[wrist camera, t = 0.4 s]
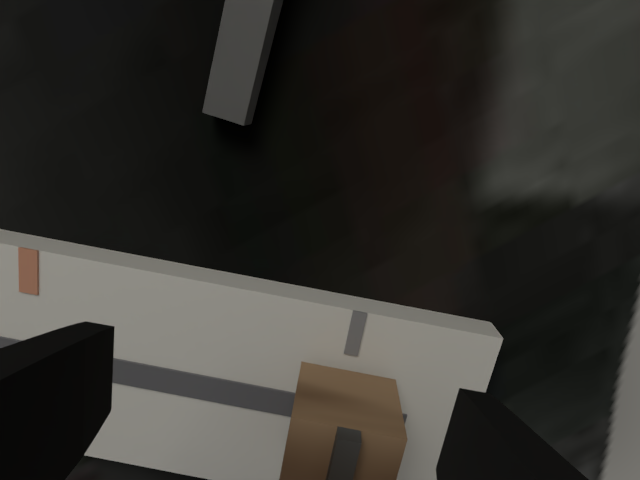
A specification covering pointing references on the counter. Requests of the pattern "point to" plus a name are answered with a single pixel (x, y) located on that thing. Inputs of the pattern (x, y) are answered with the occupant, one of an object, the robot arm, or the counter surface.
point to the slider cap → (344, 427)
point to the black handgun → (241, 58)
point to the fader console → (233, 354)
